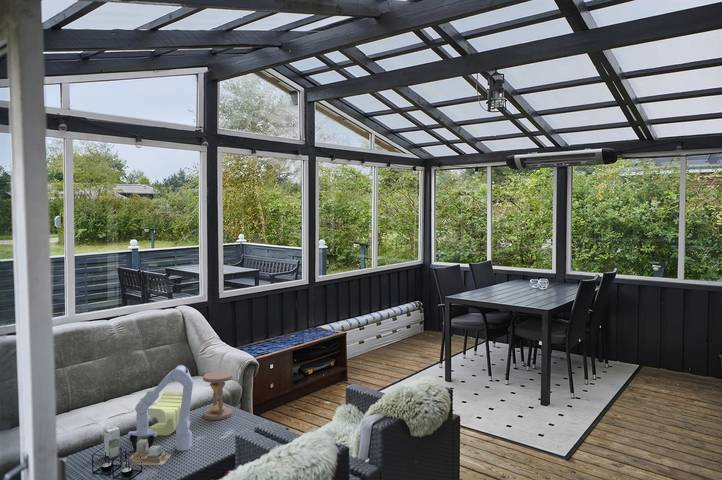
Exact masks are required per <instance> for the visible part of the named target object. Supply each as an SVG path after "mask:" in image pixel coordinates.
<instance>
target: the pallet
mask: <svg viewBox="0 0 722 480" xmlns="http://www.w3.org/2000/svg"><path fill="white" fill-rule="evenodd" d="M172 455H173V453H167V452H166V451H161V456H160V457H159V458H149V451H146V452H138V451H137V450H136V451H135V453H133V454H132V455H131V456H130V457H128V459H130V465H129V466H131V465H132V466H133V465H134V466H137V465H140V466H163V465H164V464H165V463H166V462H167V461H168V459H170V457H171V456H172ZM140 456H141V458H140ZM141 462H142V463H141ZM125 464H126V460H125V461H124V462H123V463H122V465H125Z"/></svg>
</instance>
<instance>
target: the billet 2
mask: <svg viewBox="0 0 722 480" xmlns="http://www.w3.org/2000/svg"><path fill="white" fill-rule="evenodd" d="M147 451H148V452H149V458H159V457H160V456H161V452H162V445H153V444H152V446H151V447H150V448H149V449H148V450H147Z"/></svg>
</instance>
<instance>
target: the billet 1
mask: <svg viewBox="0 0 722 480" xmlns="http://www.w3.org/2000/svg"><path fill="white" fill-rule="evenodd" d="M137 451H138V452H148V451H149V450H148V440H147V439H143V438H141V439H139V440H137V449H136V452H137Z"/></svg>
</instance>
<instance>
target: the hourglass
mask: <svg viewBox="0 0 722 480" xmlns="http://www.w3.org/2000/svg"><path fill="white" fill-rule="evenodd" d="M232 379H233V374H232V373H231V372H229V371H213V372H207V373H205V374H203V376H202V381H203V382H205V383H209V386H210V388H211V389H212V392H213V394H212V401H213V402H212V403H213V404H212V406H211V407H210V408H207V409H206V410H204V411H203V415H202V416H203V418H204V419H206V420H208V421H209V420H210V421H216V420H217V421H221V420H225V419H228V418H230V417H231V416H232V415H233V409H232V408H231V407H226V405H224V401H223V395H224V390H223V389H224V388H225V386H226V382H229V381H231V380H232ZM218 397H219V398H218ZM220 419H221V420H220Z"/></svg>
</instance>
